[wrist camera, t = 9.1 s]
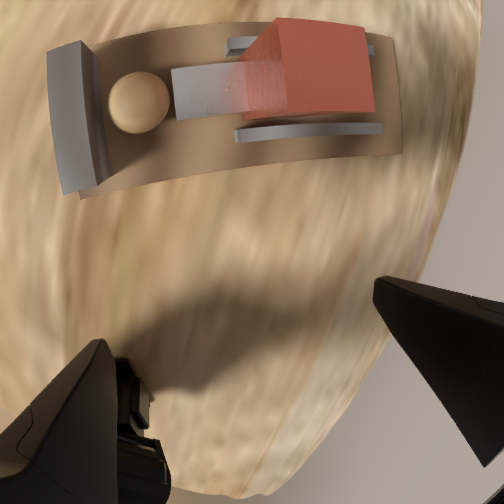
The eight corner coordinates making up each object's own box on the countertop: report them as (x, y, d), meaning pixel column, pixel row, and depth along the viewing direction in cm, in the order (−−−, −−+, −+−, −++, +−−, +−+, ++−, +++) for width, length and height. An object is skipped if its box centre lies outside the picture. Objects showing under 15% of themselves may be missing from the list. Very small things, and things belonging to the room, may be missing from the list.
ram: (177, 130, 17) (179, 124, 10) (170, 68, 15) (168, 23, 8) (302, 116, 18) (374, 112, 11) (295, 60, 17) (364, 27, 10)
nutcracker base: (85, 196, 18) (59, 215, 13) (67, 58, 14) (38, 39, 9) (393, 152, 23) (437, 160, 18) (383, 40, 19) (425, 28, 14)
